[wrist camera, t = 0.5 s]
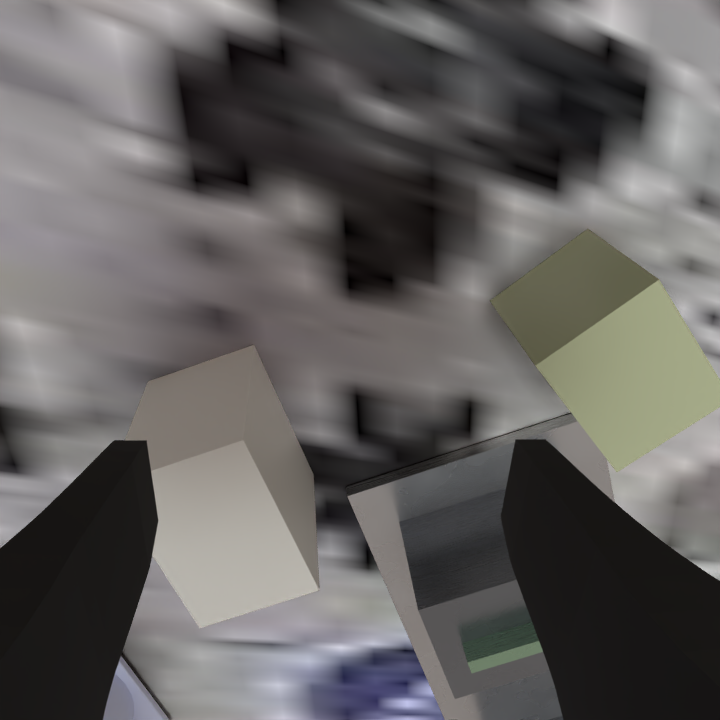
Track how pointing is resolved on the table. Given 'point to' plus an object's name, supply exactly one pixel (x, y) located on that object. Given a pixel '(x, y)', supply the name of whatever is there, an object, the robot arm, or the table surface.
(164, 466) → the block
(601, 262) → the olive block
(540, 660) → the rail station
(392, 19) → the table surface
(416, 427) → the table surface
